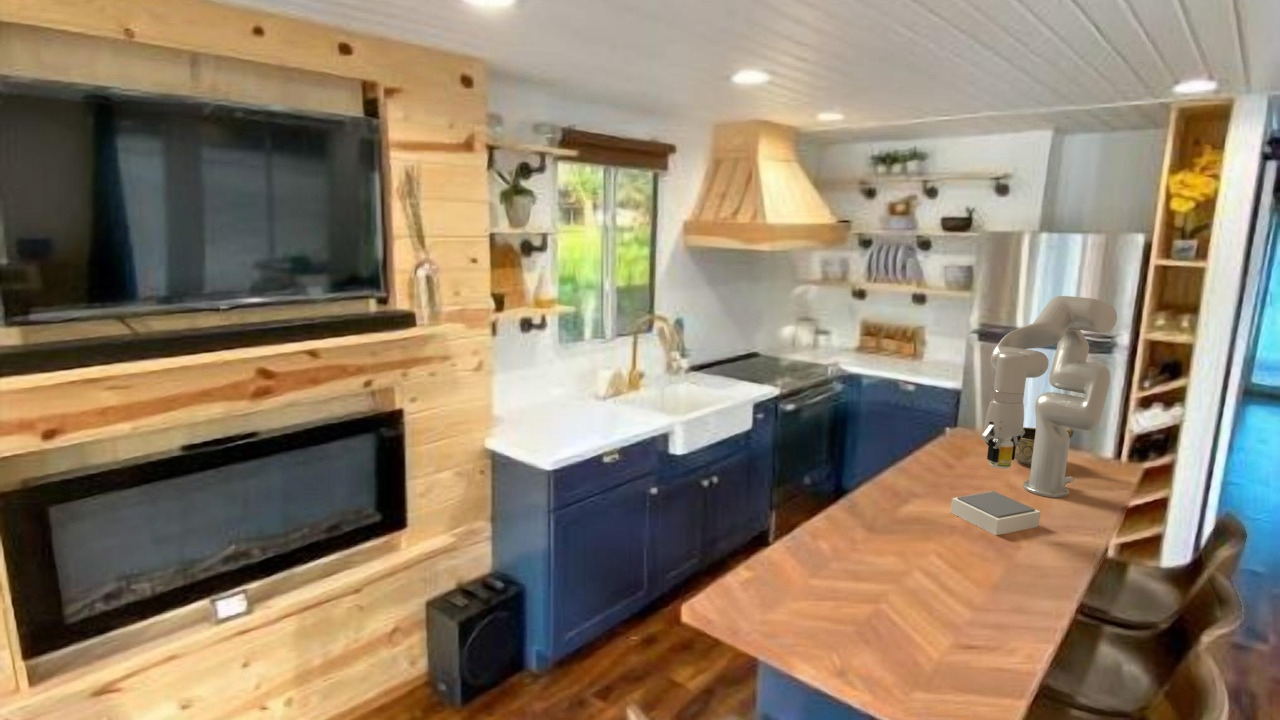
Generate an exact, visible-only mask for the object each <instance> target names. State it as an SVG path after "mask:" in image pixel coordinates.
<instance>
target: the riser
mask: <svg viewBox="0 0 1280 720" xmlns="http://www.w3.org/2000/svg"><path fill="white" fill-rule="evenodd" d="M950 514H952V515H953V516H954V515H955V516H956V517H958V516H959V517H958V518H960V519H962V518H963V519H962V520H964V521H966V522H968V523H970V524H972V525H974V526H976V525H977V526H976V527H978V528H980V529H983V530H984V531H986V532H987V533H989V534H992V535H994V536H999V535H1001V536H1002V535H1004V534H1005V535H1006V534H1010V533H1015V532H1019V531H1020V532H1021V531H1025V530H1029V529H1034V528H1038V527H1040V519H1041V511H1040V510H1038V509H1035V508H1034V507H1031V506H1029V505H1027V504H1024V503H1022V502H1019V501H1017V500H1016V499H1013V498H1010V497H1008V496H1006V495H1003V494H1001V493H998V492H996V491H994V490H993V491H992V490H991V491H988V492H981V493H975V494H970V495H964V496H957V497H951V506H950Z"/></svg>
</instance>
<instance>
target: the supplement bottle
mask: <svg viewBox="0 0 1280 720" xmlns="http://www.w3.org/2000/svg"><path fill="white" fill-rule="evenodd" d="M1011 439H1012V437H1011V436H1009V437H1007V438H1003V439H1001V440H1000V443H999V446H998V449H999V458H998V462H996V463H995V462H992V461H990V460H989V465H990V466H991V467H993V468H995V469H1003V470H1006V469H1007V470H1008V469H1010V468H1011V467H1012V466H1011V465H1012V461H1013V460H1012V453H1013V445H1014V444H1013V442H1012V441H1011ZM993 441H994V443H995V441H996V439H993Z"/></svg>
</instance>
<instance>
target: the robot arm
mask: <svg viewBox="0 0 1280 720" xmlns="http://www.w3.org/2000/svg"><path fill="white" fill-rule="evenodd" d="M1117 321H1118V315H1117V311H1116V308H1115V307H1114V306H1113V305H1111V304H1110V303H1107V302H1106V301H1105V302H1104V301H1102V300H1099V299H1097V298H1091V297H1082V296H1071V295H1060V296H1055V297H1053V298H1051V299H1050V300H1049V302H1048V303H1046V305H1045V307H1044V308H1043V309H1042V311H1040V313H1039V314H1038V316H1037V318H1036V319H1035V320H1034V322H1033V323H1030V324H1027V325H1025V326H1021V327H1020V328H1017V329H1015V330H1012V331H1010V332H1009V333H1007V334H1005V335H1004V336H1003V337H1002V338H1001V340H1000V341H999V342H998V343H997V345H996V346H995V348H994V349H993V351H992V353H991V357H990V365H991V367H992V369H993V370H995V376H994V385H993V391H992V392H993V393H992V400H991V401H990V402H989V405H988V407H987V411H986V415H985V420H984V425H983V433H982V435H981V438H982V439H983V440H984V441H985V443H986V446H987V447H988V448H987V457H986V460H988V461H989V462H990V461H992V462H995V463H996V462H998V458H999V449H998V446H999V443H1000V440H1001V439H1003V438H1007V437H1009V436H1011V437H1012V439H1011V441H1012V442H1013V444H1014V445H1013V453H1012V460H1011V461H1014V460H1015V450H1016V447H1015V446H1017V445H1018V442H1019V440H1020V439H1021V437H1022V436H1023V435H1024V434H1025V430H1024V429H1023V427H1024V421H1025V420H1024V419H1025V404H1024V399H1025V397H1024V396H1025V391H1026V381H1027V379H1030V378H1032V379H1035V378H1039V377H1041V376H1043V375H1044V374H1045V373H1046V372H1047V370H1048V369H1049V364H1050V363H1049V358H1048V356H1047V355H1046V354H1045V353H1043V352H1042V351H1039V350H1032V349H1037V348H1044V347H1050V346H1053V345H1055V344H1057V345H1056V350H1055V354H1054V357H1053V362H1052V365H1051V369H1050V372H1049V379H1048V381H1049V383H1050V386H1051V387H1053V388H1056V389H1059V390H1063V391H1067V392H1068V391H1069V392H1072V393H1079V394H1084V395H1085V397H1081V396H1076V395H1072V394H1067V393H1060V392H1055V391H1054V392H1049V391H1048V392H1044V393H1041V394H1040V395H1039V396H1037V398H1036V400H1035V405H1034V408H1035V410H1034V412H1035V428H1036V432H1035V440H1034V448H1033V455H1032V463H1031V466H1030V473H1029V478H1028V479H1029V480H1028V479H1026V480H1025V481H1024V482H1023V483H1022V484H1023V485H1022V486H1023V489H1025V490H1026V491H1028V492H1030V493H1031V494H1034V495H1038V496H1042V497H1048V498H1064V497H1067V496H1069V493H1070V491H1069V489H1068V488H1067V487H1066V485H1067V484H1070V483H1073V482H1074V477H1073V476H1066V473H1067V472H1066V471H1067V466H1068V465H1067V464H1068V458H1069V451H1070V450H1069V449H1070V444H1071V443H1070V442H1071V441H1070V440H1071V438H1069V433H1068V432H1067V430H1066V428H1071V429H1073V428H1074V429H1077V430H1083V431H1093V430H1094V429H1096V428H1097V427H1098V425H1099V423H1100V420H1101V418H1102V415H1103V412H1104V411H1103V410H1104V407H1105V403H1106V400H1107V396H1108V393H1109V389H1110V385H1111V373H1110V370H1109V369H1108V367H1106V366H1105V365H1102V364H1099V363H1095V362H1094V363H1093V362H1087V360H1088V354H1089V351H1090V344H1089V342H1088V340H1087V338H1086V337H1085V335H1084V334H1083V332H1082V331H1084V332H1090V333H1099V334H1104V333H1105V334H1107V333H1109V332H1111V331H1112V330H1113V329H1114V328H1115V327H1116V324H1117ZM994 439H996V441H995V443H994V441H993V440H994Z"/></svg>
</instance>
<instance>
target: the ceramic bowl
mask: <svg viewBox="0 0 1280 720" xmlns="http://www.w3.org/2000/svg"><path fill="white" fill-rule="evenodd" d="M1065 428H1066V430H1067V432H1068V434H1069V438H1070V439H1071V438H1072V437H1073V435H1074V430H1073V428H1072V427H1065ZM1023 429H1024V430H1025V434H1024V435H1023V436H1022V437H1021V439H1020V440H1019V442H1018V445H1017V446H1015V447H1016V450H1015V458H1014V460H1017V461H1018V462H1020V463H1022V464H1024V465H1027V466H1029V467H1031V463H1032V455H1033V448H1034V440H1035V432H1036V427H1026V426H1025V427H1024V426H1023Z"/></svg>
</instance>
